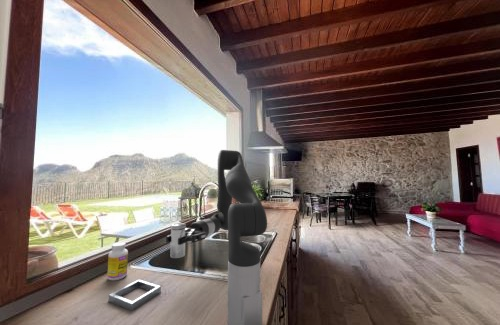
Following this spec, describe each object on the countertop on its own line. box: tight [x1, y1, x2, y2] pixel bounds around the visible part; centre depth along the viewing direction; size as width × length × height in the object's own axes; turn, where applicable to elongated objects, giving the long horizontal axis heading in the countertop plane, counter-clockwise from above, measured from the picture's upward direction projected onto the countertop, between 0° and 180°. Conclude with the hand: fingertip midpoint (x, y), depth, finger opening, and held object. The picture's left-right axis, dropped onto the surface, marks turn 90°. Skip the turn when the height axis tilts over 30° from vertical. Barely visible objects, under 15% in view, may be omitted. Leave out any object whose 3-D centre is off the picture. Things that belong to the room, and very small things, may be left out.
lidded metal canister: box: [170, 222, 187, 259], centre depth 77 cm, size 5×5×11 cm
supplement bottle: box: [106, 241, 129, 281], centre depth 84 cm, size 7×7×13 cm
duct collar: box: [108, 279, 162, 311], centre depth 71 cm, size 11×11×2 cm
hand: (172, 240), depth 74 cm, fingers closed on lidded metal canister, 5 cm apart
